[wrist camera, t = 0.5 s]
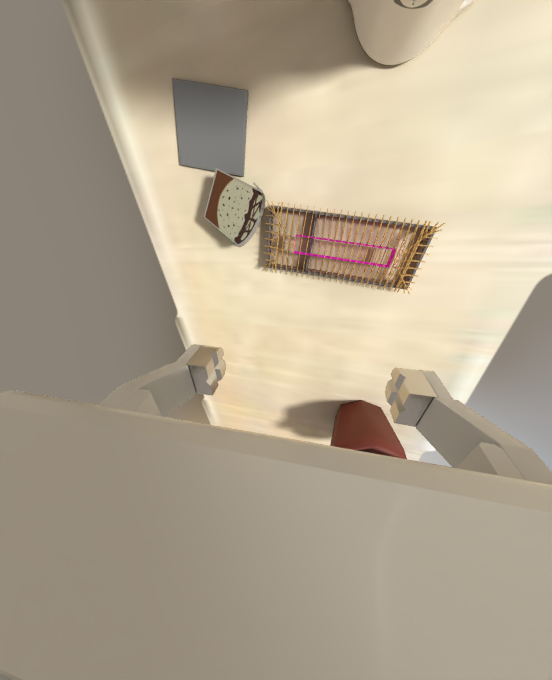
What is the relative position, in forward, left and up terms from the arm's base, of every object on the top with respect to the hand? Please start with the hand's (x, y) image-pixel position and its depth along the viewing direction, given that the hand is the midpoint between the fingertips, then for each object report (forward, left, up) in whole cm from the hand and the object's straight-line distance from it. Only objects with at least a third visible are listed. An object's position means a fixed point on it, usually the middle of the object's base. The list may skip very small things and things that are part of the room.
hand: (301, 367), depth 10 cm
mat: (-14, -25, -46) cm, 54 cm away
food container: (-4, -23, -44) cm, 50 cm away
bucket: (+55, +30, -46) cm, 78 cm away
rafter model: (+1, +6, -46) cm, 47 cm away
